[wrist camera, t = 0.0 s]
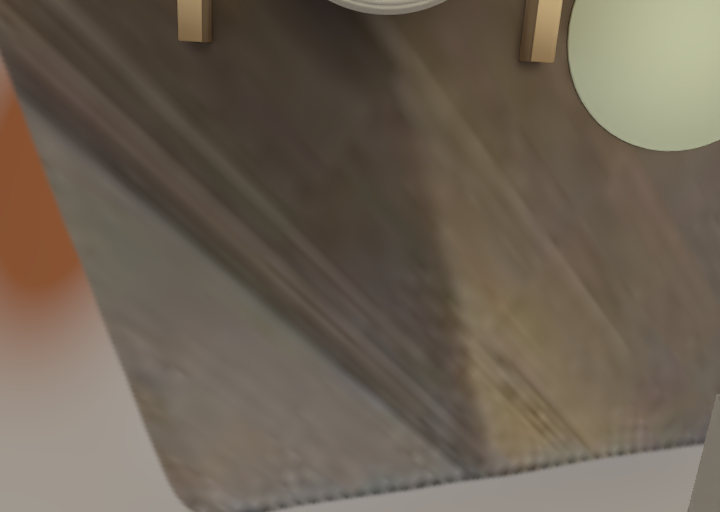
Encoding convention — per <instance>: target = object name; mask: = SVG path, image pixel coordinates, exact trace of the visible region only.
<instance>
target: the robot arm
mask: <svg viewBox="0 0 720 512" xmlns="http://www.w3.org/2000/svg"><path fill="white" fill-rule="evenodd" d="M688 512H720V394H717V396H716V400H715V404H714V408H713V412H712V416H711V420H710V424H709V428H708V432H707V436H706V440H705V444H704V448H703V452H702V456H701V460H700V464H699V468H698V472H697V476H696V480H695V484H694V488H693V492H692V496H691V500H690V504H689V507H688Z"/></svg>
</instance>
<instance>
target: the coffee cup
mask: <svg viewBox="0 0 720 512" xmlns="http://www.w3.org/2000/svg"><path fill="white" fill-rule="evenodd" d="M329 1H331V2H333V3H335V4H337V5H340V6H342V7H345V8H348V9H351V10H355V11H359V12H363V13H369V14H378V15H397V14H406V13H412V12H417V11H421V10H424V9H427V8H430V7H433V6H436V5H438V4H440V3H442V2H444V1H447V0H329Z"/></svg>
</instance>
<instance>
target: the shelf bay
mask: <svg viewBox="0 0 720 512" xmlns="http://www.w3.org/2000/svg"><path fill="white" fill-rule="evenodd" d="M562 1H563V0H526V6H525V14H524V22H523V30H522V38H521V46H520V54H519V61H529V62H548V63H554V57H555V50H556V43H557V36H558V29H559V22H560V15H561V8H562ZM177 3H178V39H179V41H191V42H208V43H212V3H211V0H177Z"/></svg>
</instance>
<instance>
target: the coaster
mask: <svg viewBox="0 0 720 512" xmlns="http://www.w3.org/2000/svg"><path fill="white" fill-rule="evenodd" d="M567 56H568V63H569V69H570V74H571V77H572V81H573V84H574V87H575V89H576V91H577V94H578V96H579V98H580V100H581V102H582V103H583V105H584V106H585V108H586V109H587V111H588V112H589V114H590V115H591V116H592V117H593V118H594V119H595V120H596V122H597V123H598V124H600V125H601V126H602V127H603V128H604V129H605V130H607V131H608V132H609V133H611V134H612V135H614V136H616V137H617V138H619V139H621V140H623V141H625V142H628V143H630V144H632V145H635V146H639V147H642V148H646V149H651V150H659V151H680V150H687V149H693V148H697V147H701V146H704V145H708V144H710V143H713V142H715V141H718V140H720V0H575V1H574V4H573V7H572V10H571V15H570V20H569V25H568V35H567Z"/></svg>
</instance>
